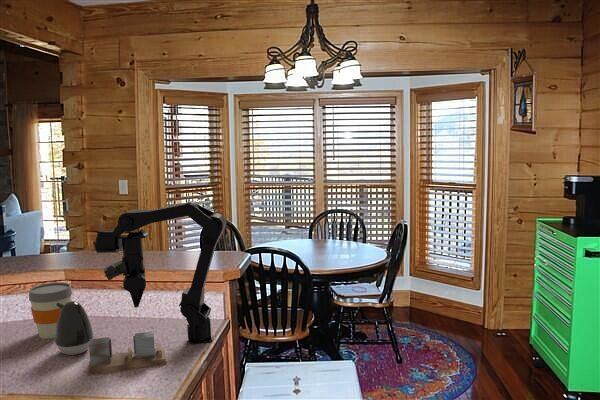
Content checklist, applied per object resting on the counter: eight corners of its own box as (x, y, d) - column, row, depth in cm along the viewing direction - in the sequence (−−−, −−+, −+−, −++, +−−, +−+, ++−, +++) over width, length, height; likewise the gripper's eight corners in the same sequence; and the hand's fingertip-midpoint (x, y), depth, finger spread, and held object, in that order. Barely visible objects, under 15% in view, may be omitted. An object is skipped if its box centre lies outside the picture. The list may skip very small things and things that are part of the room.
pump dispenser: (73, 342, 165) (69, 294, 163) (101, 346, 161) (97, 297, 159) (48, 356, 155) (43, 305, 153) (77, 360, 152) (72, 308, 150)
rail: (164, 352, 156) (162, 327, 155) (166, 363, 148) (164, 337, 147) (90, 362, 150) (88, 337, 149) (88, 375, 143) (86, 348, 142)
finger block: (154, 351, 153) (153, 331, 152) (155, 357, 149) (153, 336, 148) (134, 354, 152) (133, 333, 151) (134, 360, 148) (133, 339, 147)
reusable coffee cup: (83, 330, 175) (79, 285, 173) (47, 343, 164) (43, 296, 162) (60, 323, 182) (56, 280, 180) (24, 336, 171) (19, 290, 169)
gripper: (105, 248, 168) (109, 296, 170) (102, 262, 150) (106, 316, 152) (143, 245, 171) (146, 292, 173) (144, 258, 153) (147, 311, 156)
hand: (136, 302), depth 164 cm, fingers open, 9 cm apart
